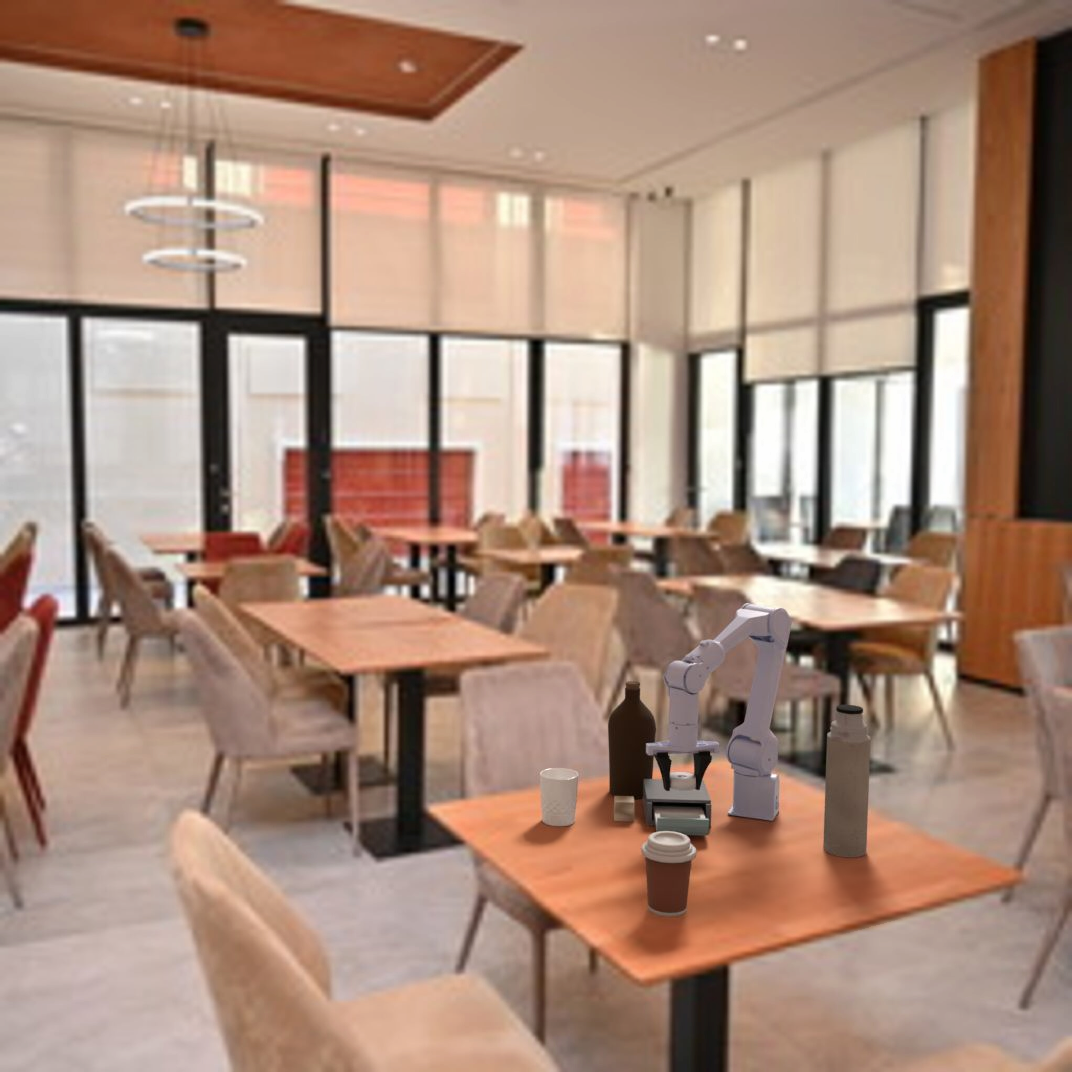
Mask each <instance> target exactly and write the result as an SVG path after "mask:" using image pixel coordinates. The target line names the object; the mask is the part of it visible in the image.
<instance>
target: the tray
mask: <svg viewBox="0 0 1072 1072" xmlns="http://www.w3.org/2000/svg"><path fill="white" fill-rule="evenodd" d="M653 815H654V820H655V825H654V826H655V830H656V832H659V831H672V832H678V833H682V834H684V835H686V836H709V835H710V834H709V830H710V829H709V828H710V827H709V819H707V818H705V815H704V812H703V809H702V807H675V806H653Z"/></svg>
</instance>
